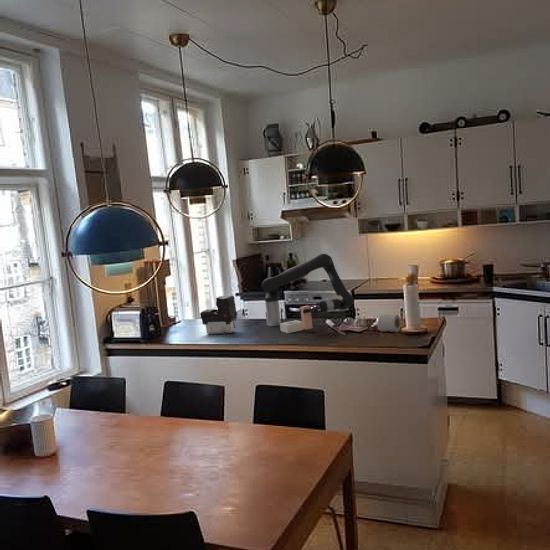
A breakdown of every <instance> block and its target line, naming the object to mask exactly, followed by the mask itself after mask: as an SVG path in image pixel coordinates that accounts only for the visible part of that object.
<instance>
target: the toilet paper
mask: <svg viewBox="0 0 550 550" xmlns="http://www.w3.org/2000/svg"><path fill="white" fill-rule="evenodd" d="M377 326H378V330H379V331H380V332H387V331H390V332H391V333H393V332H394V333H398V332H399V331H400V330H401V326H402V320H401V316H400V315H398V314H380V315H379V317H378V320H377ZM390 332H389V333H390Z"/></svg>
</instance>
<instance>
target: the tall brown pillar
mask: <svg viewBox="0 0 550 550" xmlns="http://www.w3.org/2000/svg"><path fill="white" fill-rule="evenodd" d="M310 306H311V305H303V306H300V307H299V310H300V309H301V312H300V317H301V322H302V328H303V329H304V330H306V331H307V330H310V329H311V330H312V329H313V328H314V327H313V319H312V313H303V310H305V309H309V308H310Z"/></svg>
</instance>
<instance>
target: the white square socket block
mask: <svg viewBox="0 0 550 550" xmlns="http://www.w3.org/2000/svg"><path fill="white" fill-rule="evenodd" d="M279 328H280V332H283V333H286V334H290V333H297V332H299V331H300V332H301V331H304V330H305V329H303V328H302V320H295V319H294V320H291V321H285V322H281V323H280V325H279Z"/></svg>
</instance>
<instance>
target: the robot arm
mask: <svg viewBox="0 0 550 550" xmlns="http://www.w3.org/2000/svg"><path fill="white" fill-rule="evenodd" d="M334 264H335V263H334V260H333V258H332V257H331V255H329V254H327V253H320V254H318V255H317V256H315V257H313V258H311V259H309V260H307V261H304V262H302V263H299V264H296V265H295V266H293V267H290V268H287V270H284V271H282V272H281V273H279V274H278V275H275V276H273V277H270V276H269V277H267V278H265V279H264V280H263V281H262V283H261V289H263V291H264V292H265V297H264V301H265V320H266V326H268V327H277V326H280V323H282V322H281V321H282V319H281V312H280V311H281V310H280V302H279V296H280V294H279V287H281V286H284V285H286V284H289V283H293V282H295V281H298V280H300V279H303V278H305V277H306V276H307V275H309V274H310V273H312V272H313V271H316V270H318V269H321V268H322V269H323V270H324V271H325V272H326V274H327V276H328V278H329V281H330V284H331V287H332V289H333V290H334V293H335V294H336V296H337V297H341V298H342V299H339V298H334V299H327V300H321V301H320V300H319V301H317V302H316V304H315V305H313V304H312V305H309V306H310V308H309V309H305V310H303V313H311V314H313V313H318V314H324V313H330V312H333V311H337V310H339V311H340V310H343V311H344V310H347V309H349V308H350V307H351V306H352V305H354V302H355V300H354V297H353V295H352V294H351V293H350V292H349V290H347V289H346V287H345V285H344V283H343V281H342V279H341V278H340V276H339V274H338V272H337V269H336V266H335V265H334ZM299 313H301V309H300V308H299Z"/></svg>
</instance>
